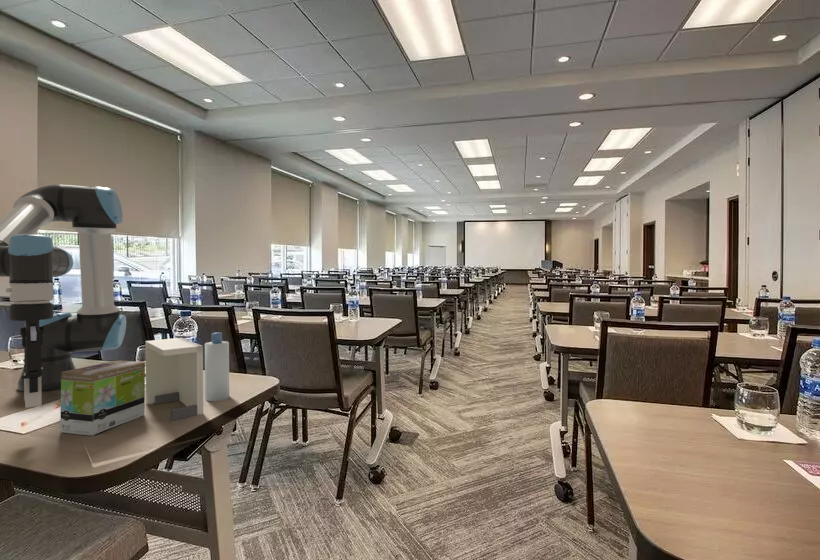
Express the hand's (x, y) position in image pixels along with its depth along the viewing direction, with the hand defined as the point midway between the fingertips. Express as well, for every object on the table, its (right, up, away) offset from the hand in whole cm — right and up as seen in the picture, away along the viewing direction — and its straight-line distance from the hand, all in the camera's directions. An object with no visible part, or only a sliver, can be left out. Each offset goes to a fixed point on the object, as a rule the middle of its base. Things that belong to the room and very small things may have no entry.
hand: (32, 403), depth 98 cm
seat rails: (+21, -8, +20) cm, 30 cm away
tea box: (+10, -8, +10) cm, 16 cm away
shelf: (+21, -8, +20) cm, 30 cm away
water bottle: (+29, -8, +30) cm, 43 cm away
